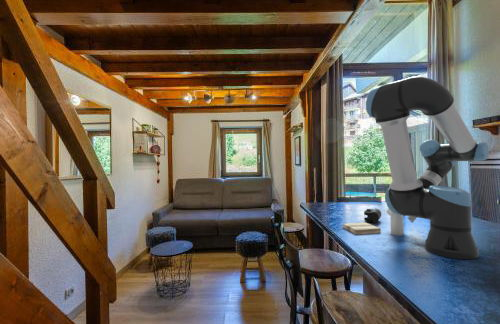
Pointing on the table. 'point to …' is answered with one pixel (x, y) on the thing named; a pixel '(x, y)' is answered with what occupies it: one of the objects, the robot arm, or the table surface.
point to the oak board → (361, 228)
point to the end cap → (372, 215)
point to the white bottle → (396, 224)
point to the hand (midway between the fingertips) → (398, 216)
